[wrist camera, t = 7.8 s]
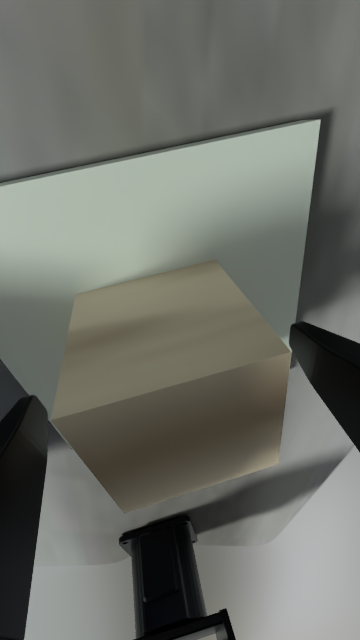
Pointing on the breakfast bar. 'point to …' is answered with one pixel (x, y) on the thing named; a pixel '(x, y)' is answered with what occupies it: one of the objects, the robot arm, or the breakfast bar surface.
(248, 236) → the sage pad
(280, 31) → the breakfast bar surface
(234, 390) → the maple block
